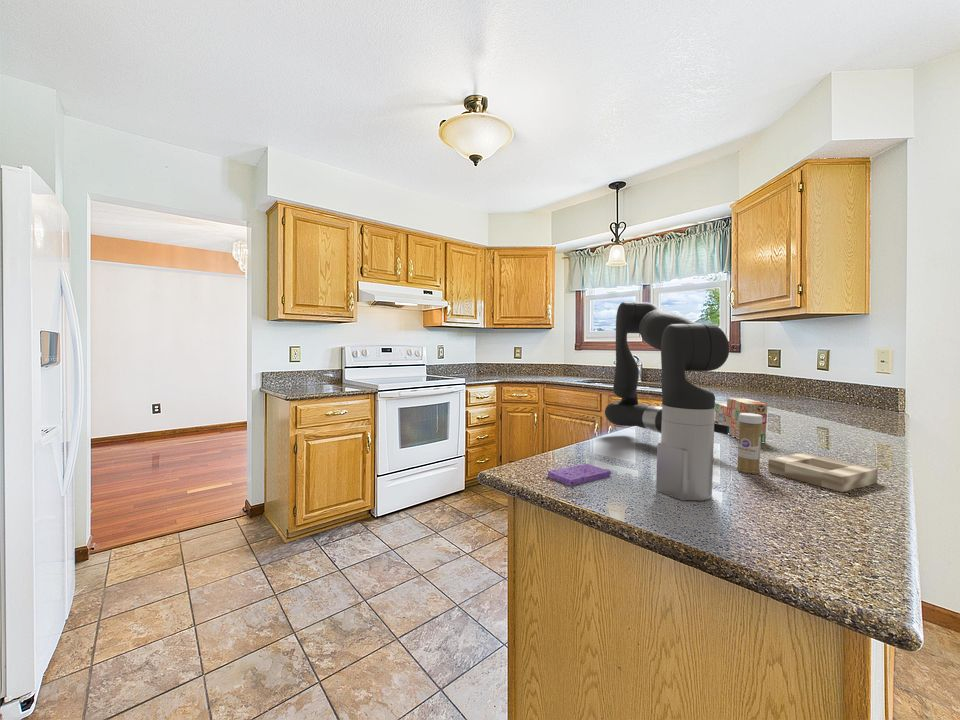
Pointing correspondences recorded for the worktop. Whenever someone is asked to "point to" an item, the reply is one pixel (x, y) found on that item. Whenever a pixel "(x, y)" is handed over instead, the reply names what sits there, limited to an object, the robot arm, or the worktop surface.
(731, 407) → the stack of blocks
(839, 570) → the worktop surface
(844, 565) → the worktop surface
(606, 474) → the sponges
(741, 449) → the sprinkles bottle
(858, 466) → the birch socket board
